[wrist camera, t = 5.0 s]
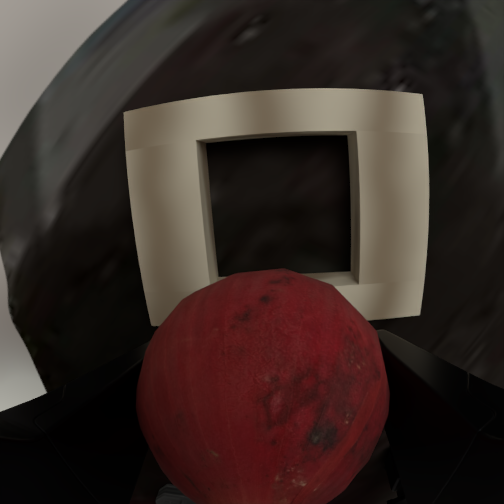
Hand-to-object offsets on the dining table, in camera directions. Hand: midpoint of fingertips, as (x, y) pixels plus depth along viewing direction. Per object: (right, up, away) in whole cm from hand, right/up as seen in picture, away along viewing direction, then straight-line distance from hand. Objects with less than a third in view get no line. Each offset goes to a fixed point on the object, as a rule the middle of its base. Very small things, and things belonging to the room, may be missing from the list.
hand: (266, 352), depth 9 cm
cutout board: (+1, +6, +11) cm, 13 cm away
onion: (0, +1, +2) cm, 2 cm away
